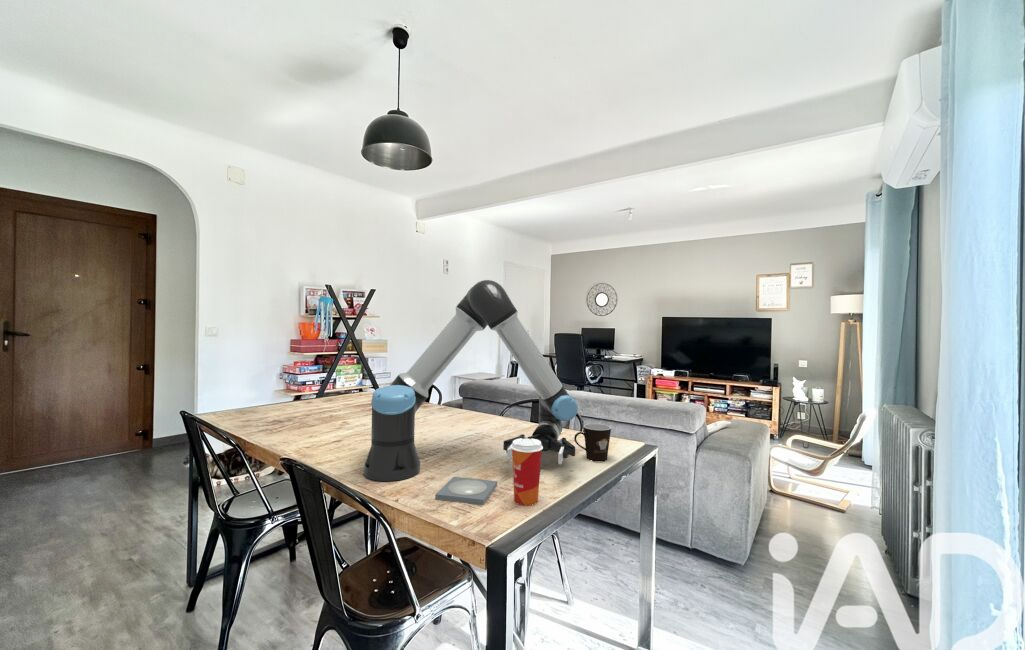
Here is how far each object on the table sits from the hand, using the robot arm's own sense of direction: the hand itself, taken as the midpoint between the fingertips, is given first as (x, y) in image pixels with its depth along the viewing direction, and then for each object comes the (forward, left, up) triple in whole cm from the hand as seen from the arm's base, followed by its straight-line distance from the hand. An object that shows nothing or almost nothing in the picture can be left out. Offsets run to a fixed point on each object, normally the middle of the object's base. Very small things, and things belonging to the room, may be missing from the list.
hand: (533, 456), depth 108 cm
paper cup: (0, -10, -8) cm, 12 cm away
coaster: (-15, -9, -7) cm, 19 cm away
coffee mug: (+14, +27, -8) cm, 32 cm away
